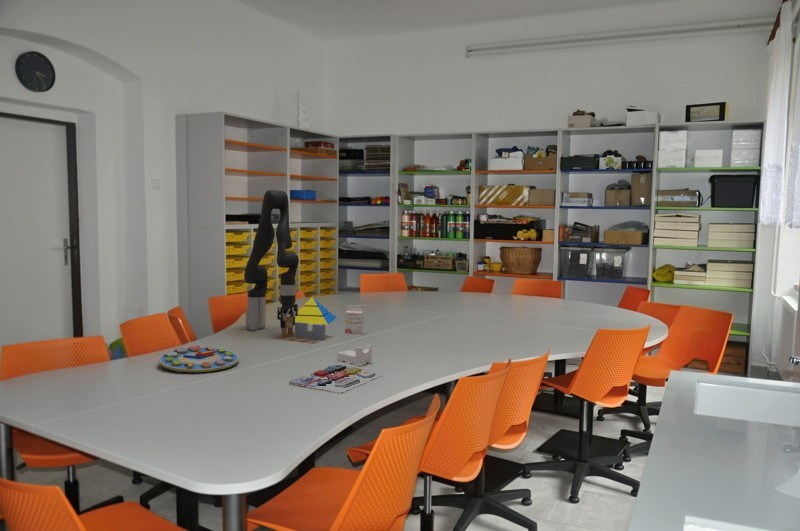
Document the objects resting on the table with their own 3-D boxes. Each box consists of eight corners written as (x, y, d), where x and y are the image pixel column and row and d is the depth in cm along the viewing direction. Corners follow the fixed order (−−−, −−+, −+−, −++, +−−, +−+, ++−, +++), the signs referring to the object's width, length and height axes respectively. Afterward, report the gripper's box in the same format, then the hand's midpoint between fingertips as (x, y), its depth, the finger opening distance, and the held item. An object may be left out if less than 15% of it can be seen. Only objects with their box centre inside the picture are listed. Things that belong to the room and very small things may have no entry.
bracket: (371, 363, 269) (371, 345, 268) (360, 366, 263) (360, 348, 262) (348, 358, 277) (348, 341, 276) (337, 361, 271) (337, 343, 270)
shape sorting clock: (164, 378, 239) (164, 362, 239) (154, 360, 266) (154, 346, 265) (247, 370, 253) (247, 355, 253) (229, 354, 280) (229, 340, 280)
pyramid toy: (328, 326, 354) (329, 300, 352) (284, 324, 356) (284, 298, 355) (338, 318, 378) (338, 294, 377) (296, 317, 381) (296, 293, 380)
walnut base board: (270, 340, 309) (270, 338, 309) (293, 333, 327) (293, 331, 327) (312, 345, 299) (312, 343, 299) (334, 338, 318) (334, 336, 317)
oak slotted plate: (281, 336, 315) (281, 318, 314) (289, 334, 320) (289, 316, 320) (285, 336, 314) (285, 318, 313) (293, 334, 319) (293, 316, 319)
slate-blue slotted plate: (294, 336, 314) (294, 322, 313) (297, 336, 316) (297, 322, 315) (323, 340, 307) (323, 325, 307) (325, 339, 309) (325, 325, 309)
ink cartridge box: (344, 334, 327) (344, 306, 326) (346, 333, 332) (346, 304, 331) (361, 335, 326) (361, 306, 325) (362, 333, 331) (363, 305, 330)
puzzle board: (341, 395, 222) (341, 388, 222) (288, 386, 233) (288, 379, 233) (385, 376, 249) (385, 369, 249) (335, 368, 260) (335, 362, 260)
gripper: (289, 291, 323) (289, 323, 325) (272, 294, 310) (272, 328, 312) (302, 292, 320) (302, 325, 321) (285, 296, 307) (285, 329, 309)
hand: (287, 326), depth 317 cm, fingers open, 8 cm apart
